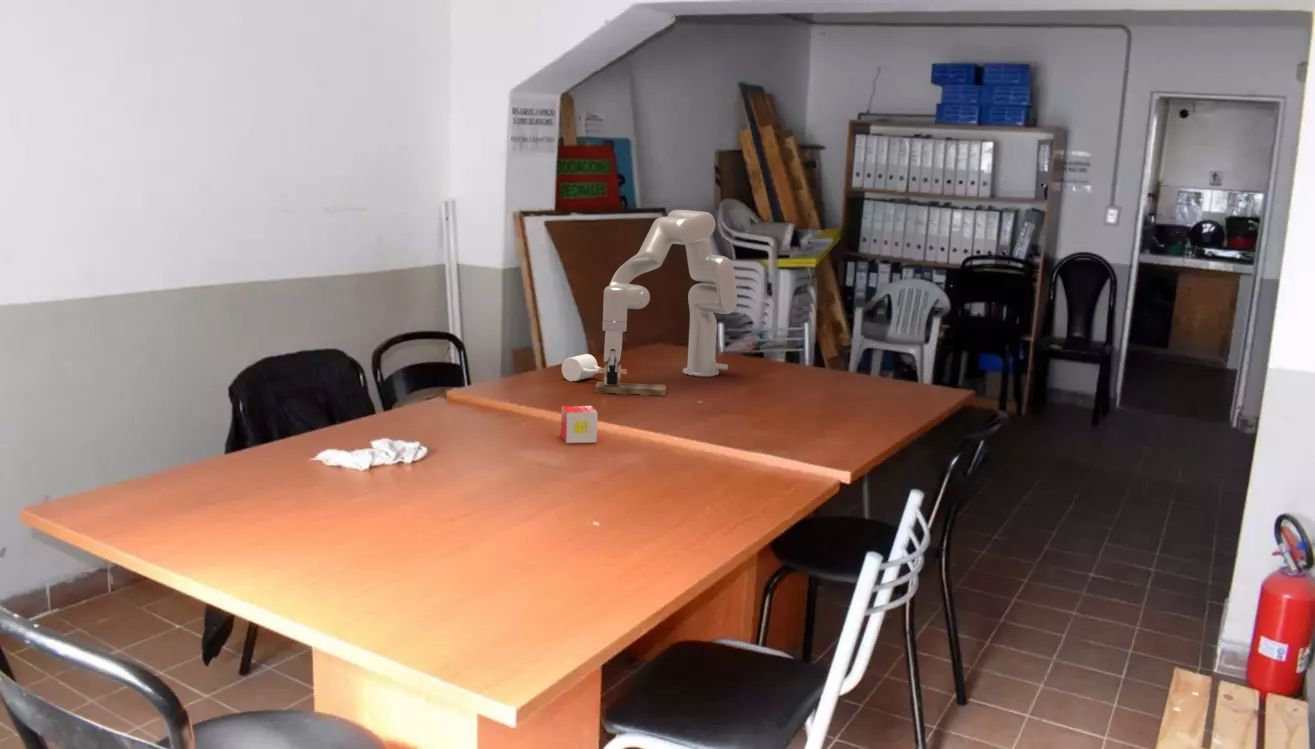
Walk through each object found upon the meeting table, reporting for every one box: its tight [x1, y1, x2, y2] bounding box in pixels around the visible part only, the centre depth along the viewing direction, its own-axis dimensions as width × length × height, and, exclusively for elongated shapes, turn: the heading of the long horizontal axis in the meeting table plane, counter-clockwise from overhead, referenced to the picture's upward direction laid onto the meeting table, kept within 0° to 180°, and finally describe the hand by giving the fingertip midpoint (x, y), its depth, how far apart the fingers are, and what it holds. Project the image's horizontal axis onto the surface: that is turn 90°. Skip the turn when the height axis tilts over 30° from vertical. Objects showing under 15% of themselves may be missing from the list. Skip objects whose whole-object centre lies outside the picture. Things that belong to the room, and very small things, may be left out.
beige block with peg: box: [597, 363, 628, 386], centre depth 342 cm, size 9×4×7 cm, turn 89°
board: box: [594, 381, 667, 397], centre depth 343 cm, size 22×8×2 cm, turn 89°
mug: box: [561, 353, 601, 382], centre depth 358 cm, size 12×10×8 cm
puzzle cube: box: [560, 405, 599, 444], centre depth 280 cm, size 8×8×8 cm
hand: (612, 382), depth 342 cm, fingers closed on beige block with peg, 4 cm apart
